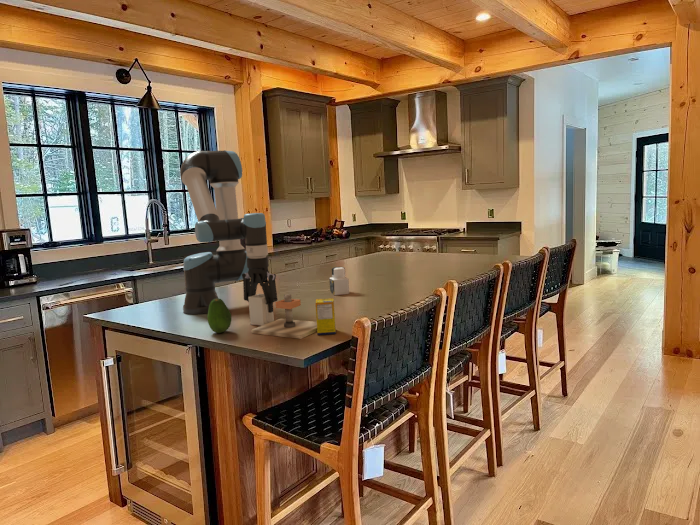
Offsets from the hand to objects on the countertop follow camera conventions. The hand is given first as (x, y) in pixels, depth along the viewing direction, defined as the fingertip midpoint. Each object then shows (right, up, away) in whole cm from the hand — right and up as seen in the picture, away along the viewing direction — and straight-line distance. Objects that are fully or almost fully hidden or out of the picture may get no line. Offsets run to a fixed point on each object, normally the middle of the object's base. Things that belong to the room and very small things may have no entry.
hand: (262, 320), depth 189 cm
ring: (+11, +6, -12) cm, 17 cm away
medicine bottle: (+27, +7, +48) cm, 56 cm away
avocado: (-12, -3, -10) cm, 16 cm away
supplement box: (+24, -2, -17) cm, 29 cm away
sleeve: (0, -1, 0) cm, 1 cm away
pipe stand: (+11, -2, -11) cm, 16 cm away
